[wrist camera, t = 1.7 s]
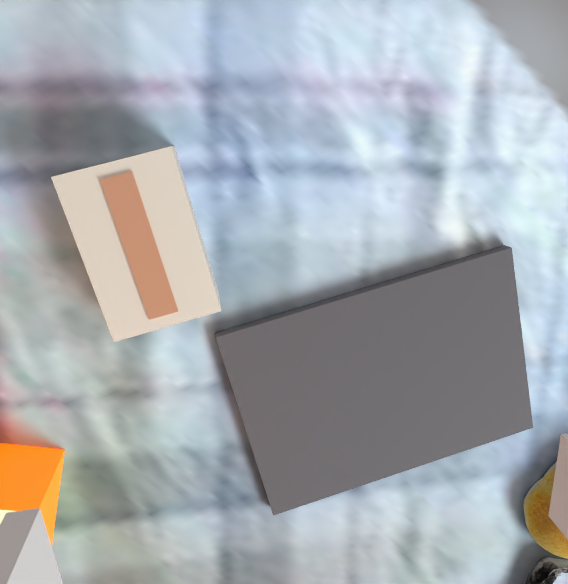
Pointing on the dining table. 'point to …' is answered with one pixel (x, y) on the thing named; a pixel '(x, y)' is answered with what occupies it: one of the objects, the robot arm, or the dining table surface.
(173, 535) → the dining table surface
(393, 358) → the charcoal mat
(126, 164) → the block
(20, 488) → the orange juice
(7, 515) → the robot arm
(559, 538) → the bread roll
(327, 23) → the dining table surface
